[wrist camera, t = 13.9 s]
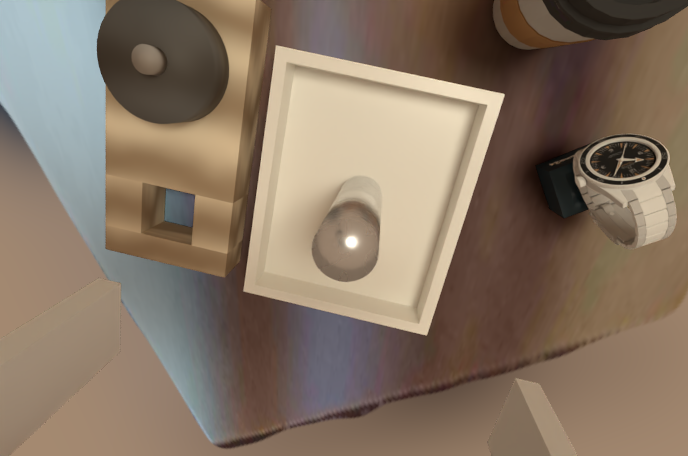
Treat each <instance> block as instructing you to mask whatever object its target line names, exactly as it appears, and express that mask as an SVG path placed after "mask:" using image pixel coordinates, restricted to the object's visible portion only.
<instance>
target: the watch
mask: <svg viewBox="0 0 688 456" xmlns="http://www.w3.org/2000/svg"><path fill="white" fill-rule="evenodd" d="M669 160H670V156H669V152H668V151H667V148H666V147H664V145H663V144H662V143H660V142H659V141H657V140H655V139H652V138H650V137H647V136H644V135H638V134H619V135H612V136H608V137H604V138H602V139H600V140H597V141H595V142H593V143H591V144H588V145H586V146H583V147H581V148H578V149H576V150H574V151H571V152H569V153H566V154H564V155H561V156H559V157H556V158H554V159H551V160H549V161H546V162H544V163H541V164H539V165H536V169H537V172H538V175H539V178H540V181H541V184H542V188H543V191H544V194H545V197H546V200H547V203H548V206H549V209H551V210H552V211H554V212H555V213H557V214H558V215H560V216H561V217H563V218H566V217H569V216H572V215H574V214H577V213H580V212H583V211H585V210H588V209H589V210H590V213H589V215H590V216H591V217H592V219H593V222H594V223H595V224H596V225H598V226H599V228H600V229H601V230H602V231H603V232H604V233H605V234H606V235H607V236H608V237H609V238H610V239H611V240H612V241H613V242H614V243H615V244H616V245H621V246H623V247H624V248H626V249H635V248H638V247H641V246H644V245H647V244H650V243H653V242H656V241H659V240H662V239H665V238H667V237H668V236H669V235H670V234H671V233H672V232H673V230H674V228H675V224H676V218H677V215H676V206H675V202H674V197H673V194H672V190H674V189H675V183H674V179H673V176H672V172H671V169H670V166H669ZM627 203H628V206H629V208H630V210H629V209H628V208H627ZM630 211H631V212H630Z"/></svg>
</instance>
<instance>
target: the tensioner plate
mask: <svg viewBox="0 0 688 456" xmlns="http://www.w3.org/2000/svg"><path fill="white" fill-rule="evenodd" d="M271 10H272V9H271V8H269V7H268V6H267V5H265V4H264V3H263V2H262V1H260V0H106V15H105V17H104V19H103V21H102V23H101V26H100V30H99V33H98V39H97V57H98V63H99V68H100V71H101V74H102V77H103V79H104V82H105V84H106V249H108V250H112V251H116V252H120V253H125V254H129V255H133V256H137V257H141V258H146V259H150V260H154V261H158V262H162V263H166V264H171V265H175V266H179V267H183V268H187V269H191V270H196V271H200V272H204V273H208V274H212V275H216V276H221V277H225V276H226V275H227V274H228V273H229V272H230V271H231V270H232V269H233V268H234V267H235V266H236V265H237V264H238V263H239V262H240V256H241V248H242V240H243V232H244V224H245V216H246V208H247V200H248V192H249V184H250V176H251V168H252V160H253V152H254V145H255V137H256V129H257V121H258V113H259V105H260V97H261V89H262V81H263V73H264V65H265V57H266V49H267V41H268V33H269V25H270V18H271ZM166 188H168V189H173V190H177V191H181V192H186V193H190V194H194V195H195V207H194V219H193V228H191V227H187V226H183V225H179V224H174V223H170V222H166V221H164V214H165V195H166Z"/></svg>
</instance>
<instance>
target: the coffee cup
mask: <svg viewBox="0 0 688 456" xmlns="http://www.w3.org/2000/svg"><path fill="white" fill-rule="evenodd" d="M687 6H688V0H494V4H493V19H494V23H495V26H496V29H497V31H498V32H499V34H500V36H501V37H502V38H503V39H504V40H505V41H506V42H507V43H508V44H510V45H512V46H514V47H516V48H519V49H526V50H531V49H538V48H550V47H557V46H563V45H569V44H575V43H581V42H587V41H591V40H594V39H600V40H610V39H617V38H625V37H629V36H632V35H634V34H637V33H640V32H642V31H645V30H647V29H650V28H652V27H653V26H655V25H657V24H660V23H662V22H664V21H666V20H668V19H669V18H671V17H672V16H674V15H675V14H677V13H678V12H680V11H681V10H683V9H684V8H686V7H687Z"/></svg>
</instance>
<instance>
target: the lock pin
mask: <svg viewBox="0 0 688 456" xmlns="http://www.w3.org/2000/svg"><path fill="white" fill-rule="evenodd" d="M381 209H382V191H381V188H380V186H379V185H378V183H377V182H376V181H375V180H373V179H372V178H370V177H367V176H354V177H352V178H350V179H348V180H347V181H346V182H345V183H344V184H343V186H342V187H341V189H340V191H339V193H338V195H337V197H336V198H335V200H334V202H333V204H332V206H331V207H330V209H329V211H328V213H327V215H326V216H325V218H324V220H323V222H322V224H321V226H320V227H319V229H318V231H317V233H316V235H315V237H314V239H313V242H312V256H313V260H314V262H315V264H316V266H317V267H318V268H319V270H320V271H321V272H322V273H323V274H325V275H326V276H327V277H329V278H331V279H333V280H337V281H341V282H352V281H356V280H359V279H362V278H364V277H365V276H367V275H368V274H369V273H370V272H371V271H372V270H373V268H374V267H375V265H376V263H377V260H378V255H379V240H380V224H381Z"/></svg>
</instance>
